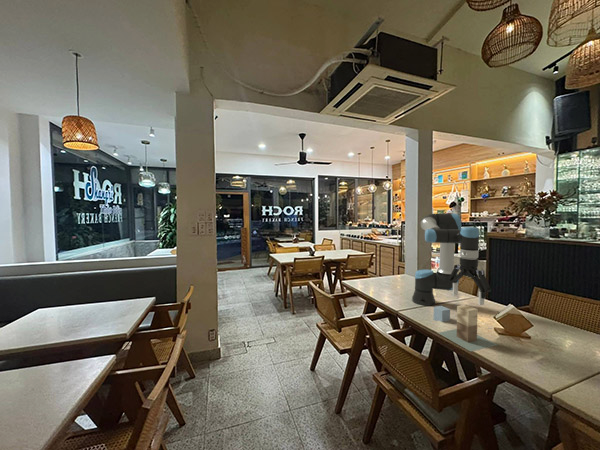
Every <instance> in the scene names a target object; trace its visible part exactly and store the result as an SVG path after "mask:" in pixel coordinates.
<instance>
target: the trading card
mask: <svg viewBox="0 0 600 450" xmlns="http://www.w3.org/2000/svg"><path fill="white" fill-rule="evenodd" d="M451 317H452V318H455V317H456V316H454V315H451ZM477 322H479V323H482V324H484V325H485V323H484V322H481V321H480V320H478V319H477ZM487 326H488V328H487V327H486V330H489V329H494V327H492V326H491V325H489V324H487Z"/></svg>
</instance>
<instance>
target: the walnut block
mask: <svg viewBox="0 0 600 450" xmlns="http://www.w3.org/2000/svg"><path fill="white" fill-rule="evenodd" d="M456 329H457V337H458V338H460V339H462V340H464V341H466V342H473V341H477V335H478V324H477V325H474V326H469V327H468V326H466V325H463V324H461V323H459V322H457V321H456Z"/></svg>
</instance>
